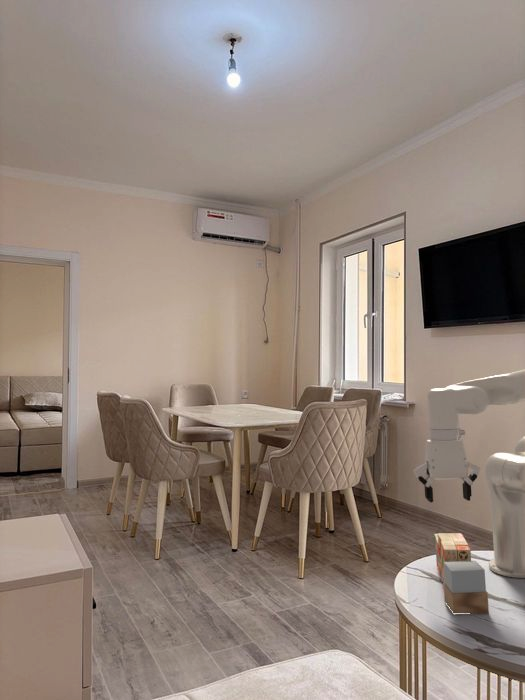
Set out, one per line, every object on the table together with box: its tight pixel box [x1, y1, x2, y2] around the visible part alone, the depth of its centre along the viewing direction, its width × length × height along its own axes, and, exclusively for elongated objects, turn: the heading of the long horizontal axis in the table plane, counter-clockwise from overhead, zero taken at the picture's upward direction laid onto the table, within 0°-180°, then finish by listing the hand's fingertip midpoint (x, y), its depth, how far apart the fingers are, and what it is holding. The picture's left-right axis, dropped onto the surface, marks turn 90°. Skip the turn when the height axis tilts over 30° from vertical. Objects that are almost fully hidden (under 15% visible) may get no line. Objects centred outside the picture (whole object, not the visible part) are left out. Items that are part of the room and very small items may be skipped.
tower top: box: [443, 560, 487, 593], centre depth 123 cm, size 8×6×5 cm
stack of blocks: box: [433, 532, 472, 586], centre depth 138 cm, size 21×6×12 cm, turn 169°
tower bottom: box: [443, 583, 490, 615], centre depth 123 cm, size 8×6×5 cm
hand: (448, 500), depth 139 cm, fingers open, 9 cm apart
